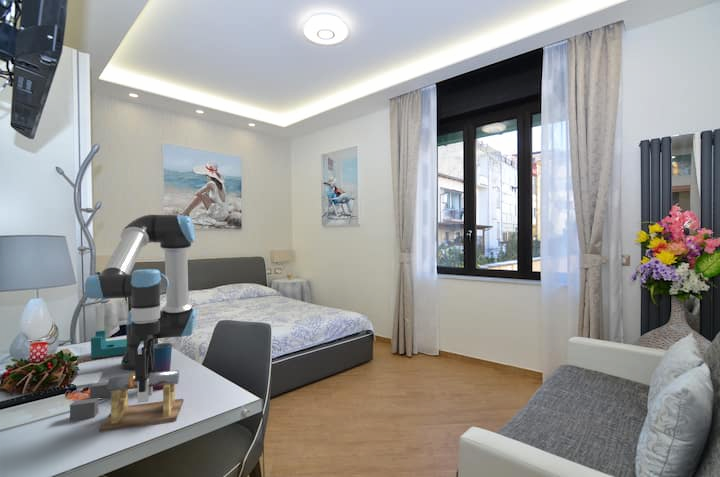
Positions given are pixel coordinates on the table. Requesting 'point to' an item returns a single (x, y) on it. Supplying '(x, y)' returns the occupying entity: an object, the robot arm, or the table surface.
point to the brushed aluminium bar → (154, 378)
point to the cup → (162, 359)
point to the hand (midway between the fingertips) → (144, 398)
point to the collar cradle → (141, 410)
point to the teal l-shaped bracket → (106, 345)
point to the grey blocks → (89, 402)
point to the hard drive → (87, 379)
